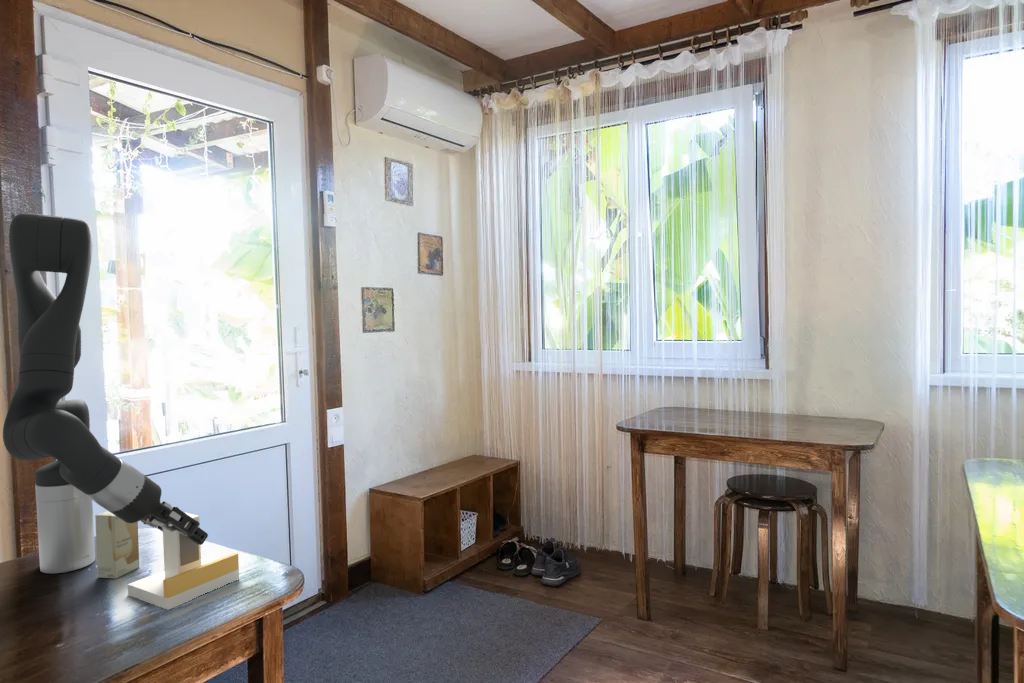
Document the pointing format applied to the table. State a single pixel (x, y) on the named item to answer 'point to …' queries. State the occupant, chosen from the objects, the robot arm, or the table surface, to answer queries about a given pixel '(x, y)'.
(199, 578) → the shelf board
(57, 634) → the table surface
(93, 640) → the table surface
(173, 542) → the product carton
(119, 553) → the skincare box
